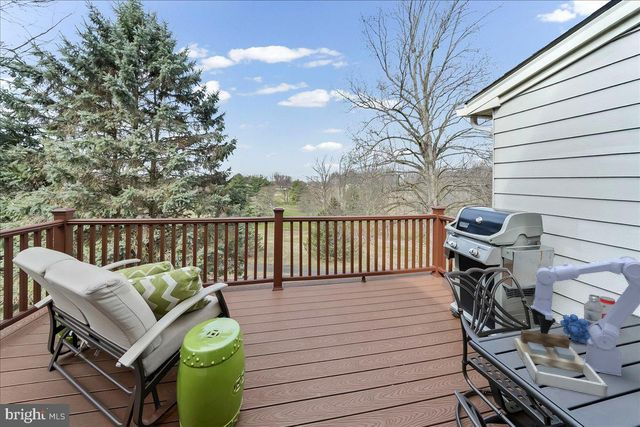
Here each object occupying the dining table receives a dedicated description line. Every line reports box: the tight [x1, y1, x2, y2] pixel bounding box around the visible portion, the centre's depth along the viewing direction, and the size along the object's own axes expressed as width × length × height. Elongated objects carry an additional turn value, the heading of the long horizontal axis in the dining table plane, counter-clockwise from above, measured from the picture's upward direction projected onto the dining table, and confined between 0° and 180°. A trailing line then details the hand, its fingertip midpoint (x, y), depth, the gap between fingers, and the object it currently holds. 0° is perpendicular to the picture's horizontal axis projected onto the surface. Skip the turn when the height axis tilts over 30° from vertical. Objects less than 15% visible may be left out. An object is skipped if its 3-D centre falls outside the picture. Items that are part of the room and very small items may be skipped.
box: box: [522, 352, 608, 398], centre depth 106 cm, size 20×13×4 cm, turn 70°
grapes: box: [559, 313, 591, 344], centre depth 130 cm, size 12×7×12 cm, turn 36°
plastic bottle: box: [583, 294, 603, 326], centre depth 133 cm, size 6×7×20 cm
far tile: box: [527, 342, 547, 356], centre depth 118 cm, size 5×5×2 cm
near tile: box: [554, 346, 575, 361], centre depth 115 cm, size 5×5×2 cm
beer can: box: [599, 296, 616, 319], centre depth 140 cm, size 6×6×16 cm
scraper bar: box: [519, 329, 571, 349], centre depth 122 cm, size 16×3×4 cm, turn 70°
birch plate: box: [513, 337, 584, 373], centre depth 119 cm, size 20×13×3 cm, turn 70°
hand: (540, 328), depth 122 cm, fingers open, 7 cm apart
